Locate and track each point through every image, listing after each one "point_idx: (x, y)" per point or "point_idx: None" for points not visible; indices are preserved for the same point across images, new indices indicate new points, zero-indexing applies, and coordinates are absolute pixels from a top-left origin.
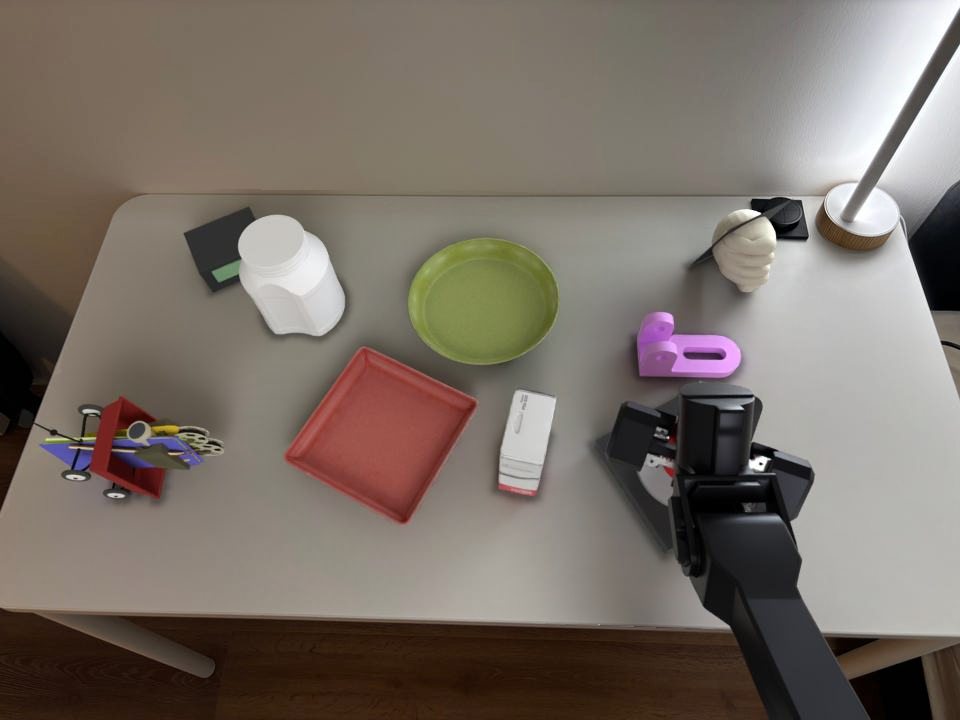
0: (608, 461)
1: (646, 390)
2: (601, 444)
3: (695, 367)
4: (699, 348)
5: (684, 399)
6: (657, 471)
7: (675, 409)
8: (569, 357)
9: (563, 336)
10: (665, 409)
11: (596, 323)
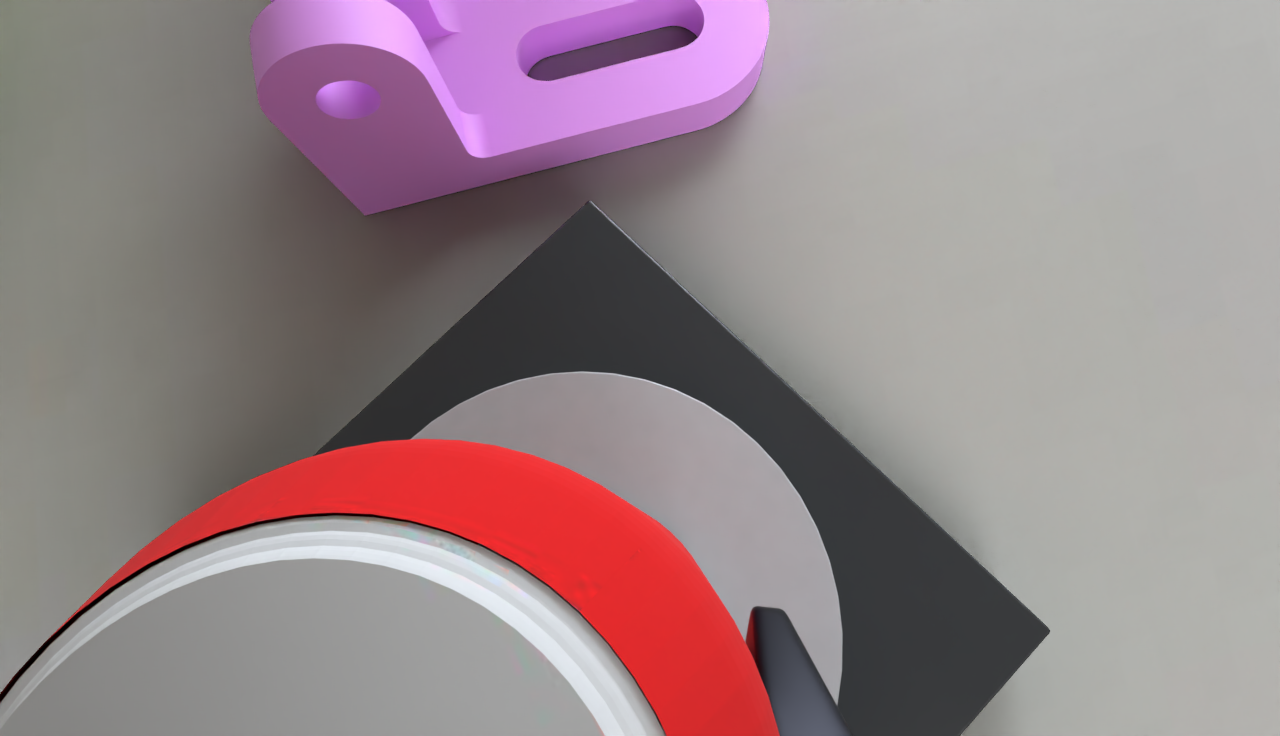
0: None
1: (401, 272)
2: None
3: (579, 111)
4: (588, 21)
5: None
6: None
7: (504, 344)
8: (63, 214)
9: (33, 128)
10: (457, 357)
11: (167, 35)
